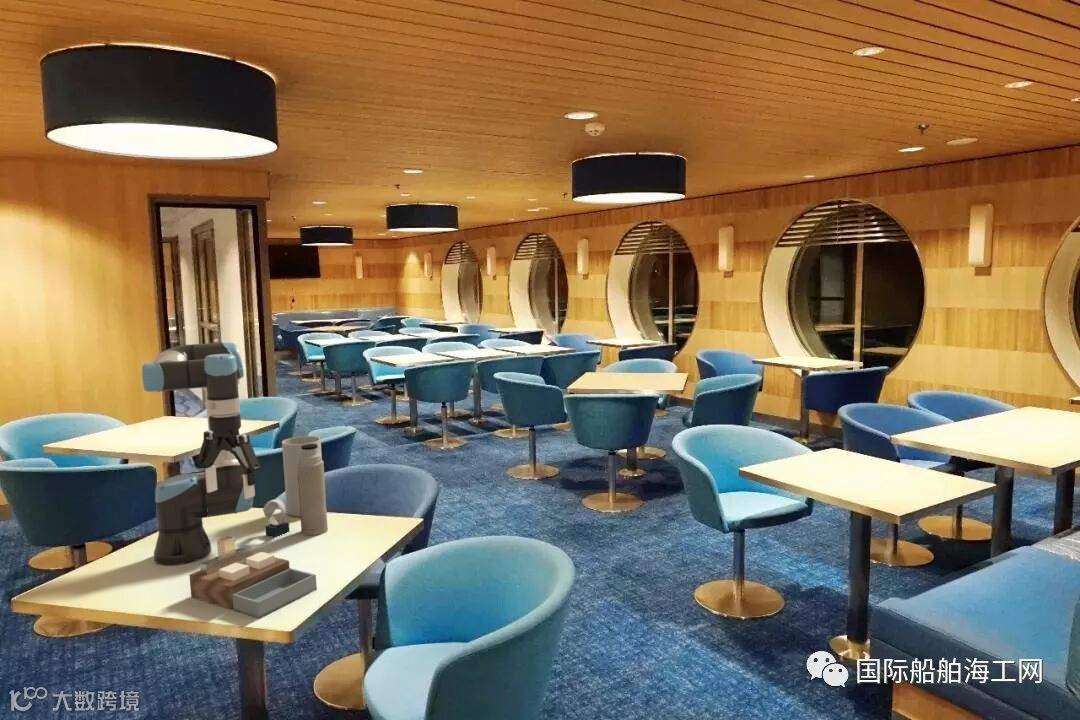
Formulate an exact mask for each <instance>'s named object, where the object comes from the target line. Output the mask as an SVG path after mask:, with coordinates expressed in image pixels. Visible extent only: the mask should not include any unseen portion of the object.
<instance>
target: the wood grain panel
mask: <svg viewBox="0 0 1080 720" xmlns="http://www.w3.org/2000/svg"><path fill="white" fill-rule="evenodd" d="M258 553H259V552H255V551H253V555H255V554H258ZM237 563H240V564H243V565H246V559H244V560H241V561H239V562H237ZM290 568H291V567H290V560H288V559H284V558H280V557H276V556H275V563H272V564H270V565H268V566H266V567H263V568H261V569H256V568H253V567H249V572H250V574H247V575H245V576H243V577H241V578H238V579H236V580H234V581H231V580H228V579H224V578H221V577H220V575H219V570H217V571H215V572H213V573H210V574H208V575H206V574H203V573H201V570H200V569H199V570H197V571H195V572H192V573H191V574H189V587H190V597H191V598H193V599H197V600H199V601H202V602H206V603H208V604H212V605H216V606H218V607H222V608H225V609H229V610H231V611H234V610H233V599H232V595H233V594H235V593H237V592H239V591H241V590H244V589H246V588H248V587H250V586H252V585H255V584H257V583H259V582H261V581H263V580H266V579H268V578H270V577H272V576H274V575H276V574H279V573H281V572H283V571H285V570H287V569H290Z"/></svg>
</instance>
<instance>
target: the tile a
mask: <svg viewBox="0 0 1080 720" xmlns="http://www.w3.org/2000/svg"><path fill="white" fill-rule="evenodd" d="M247 574H250V572H249V566H247V565H243V564H240V563H234V564H231V565H229V566H226V567H224V568H222V569H219V575H220V577H221V578H224V579H228V580H231V581H234V580H236V579H238V578H241V577H243V576H245V575H247Z"/></svg>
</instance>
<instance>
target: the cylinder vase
mask: <svg viewBox="0 0 1080 720" xmlns="http://www.w3.org/2000/svg"><path fill="white" fill-rule="evenodd" d="M321 443H322V442H321V437H320V436H315V435H313V436H312V435H305V436H304V435H303V436H295V437H290V438H286V439H283V440H282V441H281V445H282V446H281V447H282V450H281V451H282V461H283V477H284V489H285V501H286V502H285V503H286V504H285V506H286V509H287V515H288V516H292V517H298V516H300V502H299V487H298V472H297V463H299V456H300V455H302V453H301V451H302V449H301V446H302V445H306V444H317V445H318V447H317V449H318V453H319V454H320V455H321V460H322V461H323V458H322V455H323V454H322V444H321Z"/></svg>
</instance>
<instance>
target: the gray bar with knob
mask: <svg viewBox="0 0 1080 720" xmlns="http://www.w3.org/2000/svg"><path fill="white" fill-rule="evenodd" d="M235 544H236V542H235V537H234V536H230V535H225V536H221V537H220V538H216V546H217V556H216V557H213V558H211V559H208V560H206V561H202V562H201V563H199V567H200V569H199V570H201V573H203V574H206V575H208V574H210V573H213V572H215V571H217V570H219V569H222V568H224V567H226V566H229V565H231V564H234V563H237V562H239V561H241V560H244V559H246V558H248V557H250V556H253V552H254V551H253V546H250V545H243V546H241V547H239V548H236V545H235Z"/></svg>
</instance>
